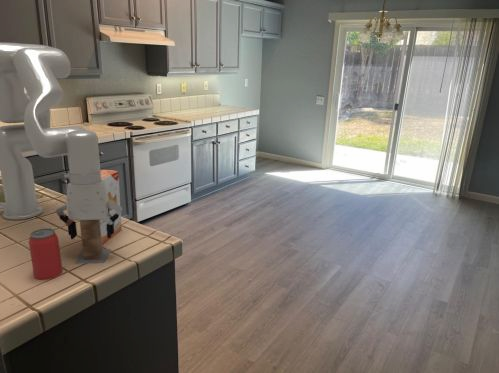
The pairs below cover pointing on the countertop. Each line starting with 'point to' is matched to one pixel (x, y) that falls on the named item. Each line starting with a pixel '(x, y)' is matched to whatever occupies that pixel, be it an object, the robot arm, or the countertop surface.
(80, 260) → the mat
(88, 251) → the walnut block
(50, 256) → the beer can
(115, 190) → the cracker box
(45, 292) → the countertop surface
